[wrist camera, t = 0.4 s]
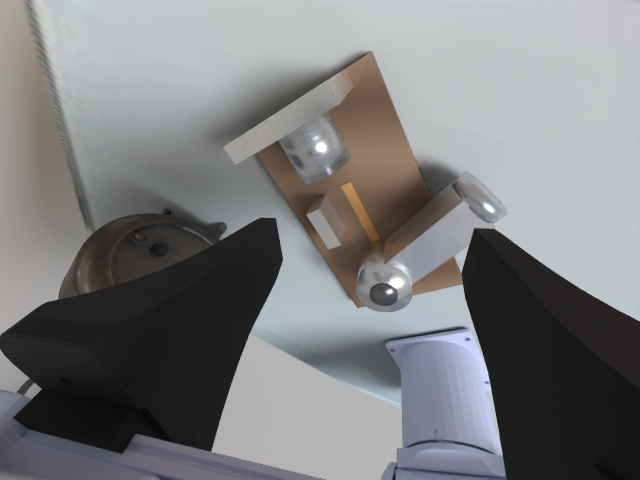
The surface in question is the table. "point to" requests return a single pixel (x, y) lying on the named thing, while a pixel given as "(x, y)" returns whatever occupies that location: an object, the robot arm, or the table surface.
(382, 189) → the board
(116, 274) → the alarm clock
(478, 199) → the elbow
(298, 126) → the square plate with knob
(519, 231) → the table surface
